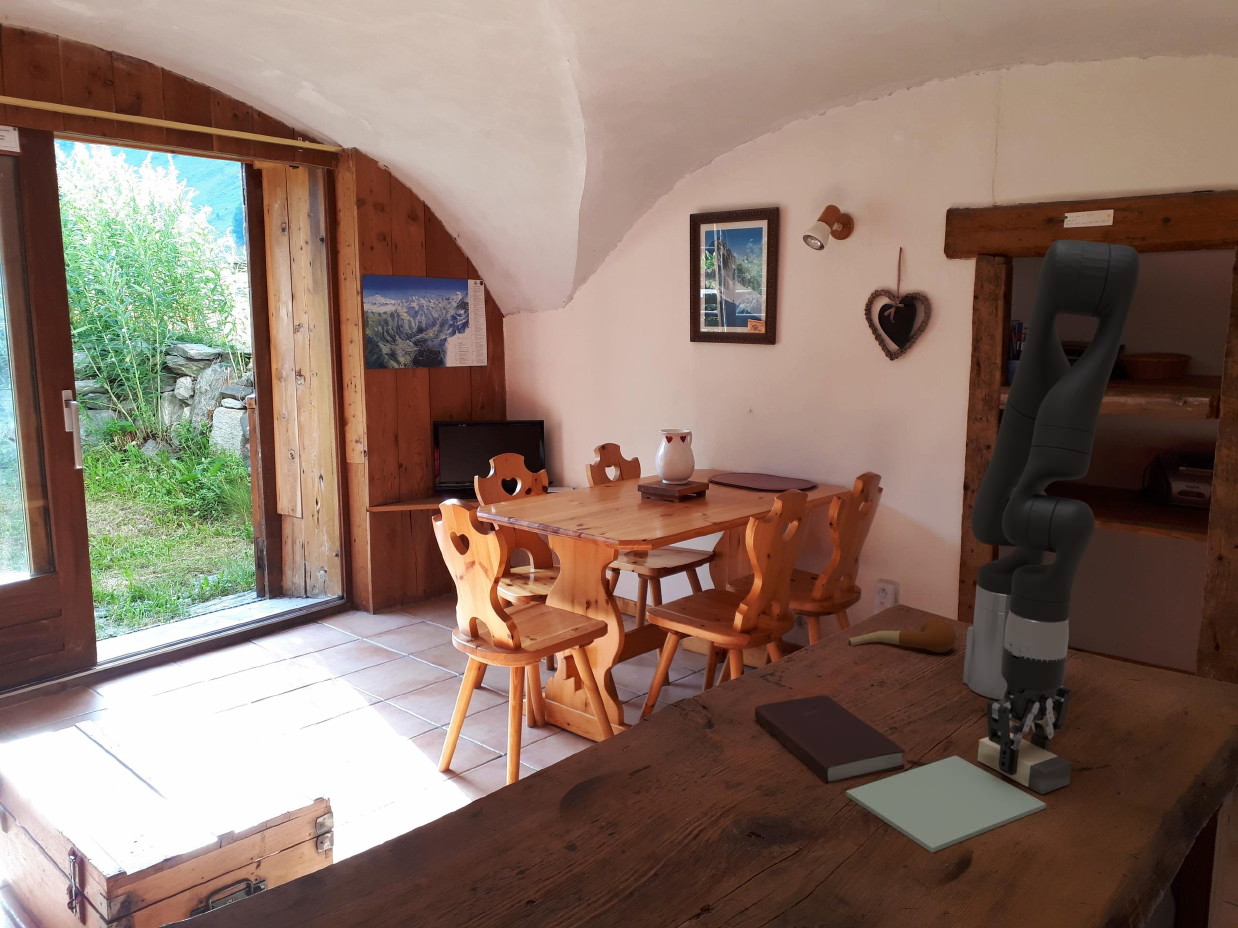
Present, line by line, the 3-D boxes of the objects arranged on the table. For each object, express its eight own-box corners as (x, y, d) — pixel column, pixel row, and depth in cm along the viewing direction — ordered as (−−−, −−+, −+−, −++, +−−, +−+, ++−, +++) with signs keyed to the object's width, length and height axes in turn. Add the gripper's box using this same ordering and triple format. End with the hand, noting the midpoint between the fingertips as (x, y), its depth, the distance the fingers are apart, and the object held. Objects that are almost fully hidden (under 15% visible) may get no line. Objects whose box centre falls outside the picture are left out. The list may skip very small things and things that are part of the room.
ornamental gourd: (960, 658, 165) (962, 627, 164) (855, 656, 165) (857, 625, 164) (946, 643, 172) (949, 613, 171) (846, 641, 172) (848, 611, 171)
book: (824, 786, 121) (826, 763, 121) (753, 723, 139) (754, 702, 139) (905, 772, 126) (907, 749, 125) (826, 711, 144) (827, 691, 143)
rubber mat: (845, 795, 118) (845, 790, 118) (955, 759, 128) (955, 755, 128) (931, 852, 107) (932, 847, 106) (1045, 807, 116) (1046, 803, 116)
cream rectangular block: (977, 759, 128) (979, 739, 127) (1004, 750, 130) (1006, 730, 130) (1041, 794, 119) (1044, 772, 119) (1069, 783, 122) (1071, 762, 121)
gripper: (1045, 628, 128) (1033, 743, 131) (973, 646, 121) (962, 766, 124) (1096, 646, 122) (1082, 766, 125) (1023, 666, 115) (1010, 793, 118)
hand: (1022, 766), depth 125 cm, fingers closed on cream rectangular block, 5 cm apart
